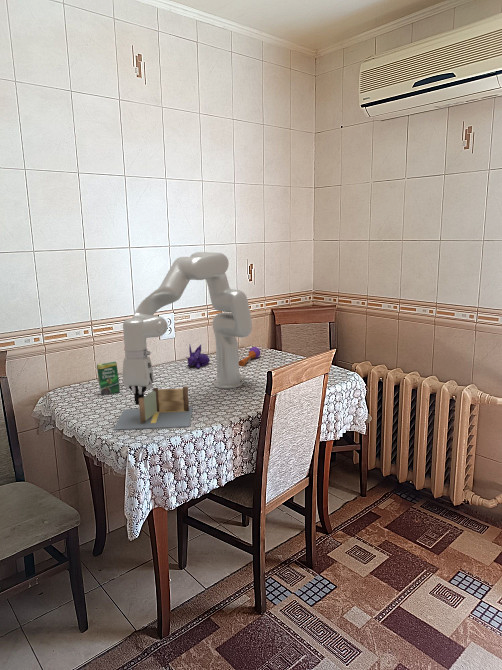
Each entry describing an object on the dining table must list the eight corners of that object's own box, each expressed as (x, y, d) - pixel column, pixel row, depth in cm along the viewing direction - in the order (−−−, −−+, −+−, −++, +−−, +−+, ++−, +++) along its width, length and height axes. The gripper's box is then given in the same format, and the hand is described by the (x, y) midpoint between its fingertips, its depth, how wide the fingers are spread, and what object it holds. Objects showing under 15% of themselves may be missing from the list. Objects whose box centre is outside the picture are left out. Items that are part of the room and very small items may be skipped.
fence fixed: (189, 409, 186) (187, 386, 184) (188, 411, 185) (187, 387, 183) (155, 410, 186) (153, 387, 184) (154, 412, 184) (152, 389, 182)
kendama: (234, 358, 243) (250, 346, 261) (237, 369, 244) (252, 356, 262) (245, 357, 240) (260, 344, 258) (248, 368, 242) (263, 355, 259)
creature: (178, 369, 240) (176, 345, 237) (202, 360, 255) (200, 337, 252) (192, 372, 235) (191, 347, 233) (215, 363, 250) (214, 339, 247)
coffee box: (100, 395, 205) (97, 365, 203) (99, 393, 208) (96, 363, 205) (120, 392, 209) (117, 362, 206) (119, 390, 211) (116, 361, 208)
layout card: (192, 407, 190) (192, 406, 189) (189, 426, 171) (189, 425, 171) (124, 410, 188) (124, 409, 188) (113, 430, 170) (113, 429, 170)
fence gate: (153, 411, 184) (151, 389, 182) (157, 411, 183) (156, 389, 182) (139, 422, 174) (137, 399, 172) (144, 422, 173) (142, 399, 172)
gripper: (160, 352, 175) (163, 401, 179) (122, 350, 179) (126, 398, 183) (150, 357, 168) (154, 408, 172) (111, 355, 172) (115, 405, 176)
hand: (139, 403), depth 177 cm, fingers closed
